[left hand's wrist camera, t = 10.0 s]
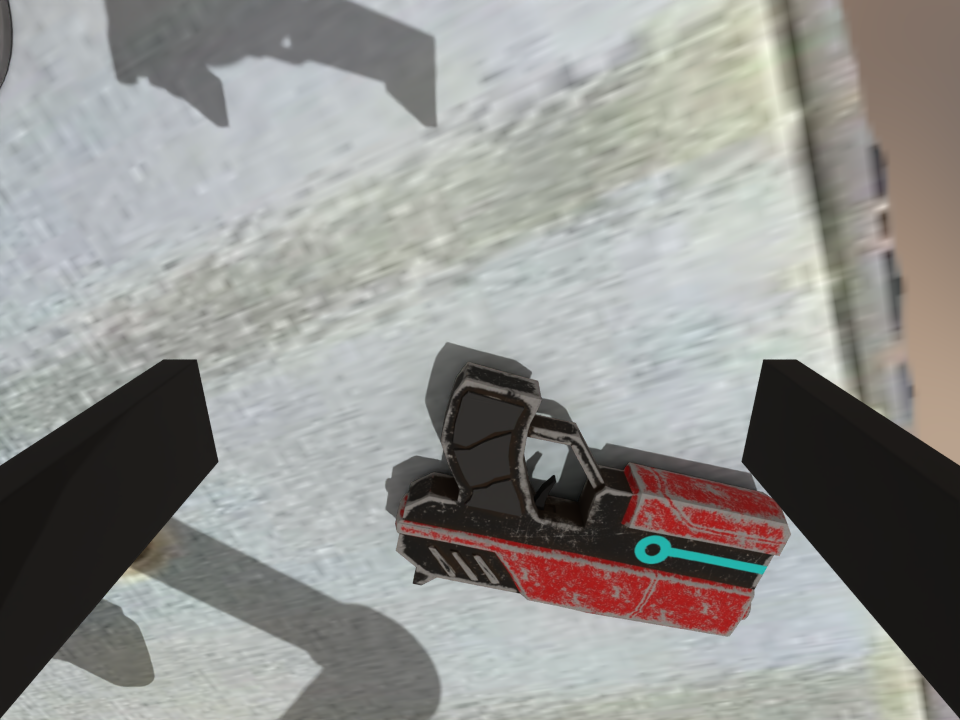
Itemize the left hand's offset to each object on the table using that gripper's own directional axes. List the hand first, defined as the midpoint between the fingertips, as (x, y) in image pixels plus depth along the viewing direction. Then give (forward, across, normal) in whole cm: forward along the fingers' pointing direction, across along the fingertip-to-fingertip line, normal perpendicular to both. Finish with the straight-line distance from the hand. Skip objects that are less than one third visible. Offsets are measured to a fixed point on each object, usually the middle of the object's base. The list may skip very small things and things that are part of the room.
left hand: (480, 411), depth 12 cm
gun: (+26, +9, -22) cm, 35 cm away
